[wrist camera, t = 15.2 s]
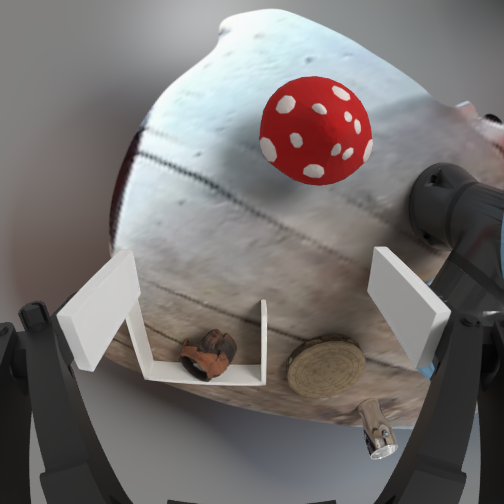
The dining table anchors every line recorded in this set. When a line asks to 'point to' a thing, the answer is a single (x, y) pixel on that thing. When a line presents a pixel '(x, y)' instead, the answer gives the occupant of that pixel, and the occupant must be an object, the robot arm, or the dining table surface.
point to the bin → (181, 375)
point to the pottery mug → (209, 355)
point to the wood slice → (325, 366)
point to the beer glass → (376, 430)
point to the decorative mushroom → (315, 131)
